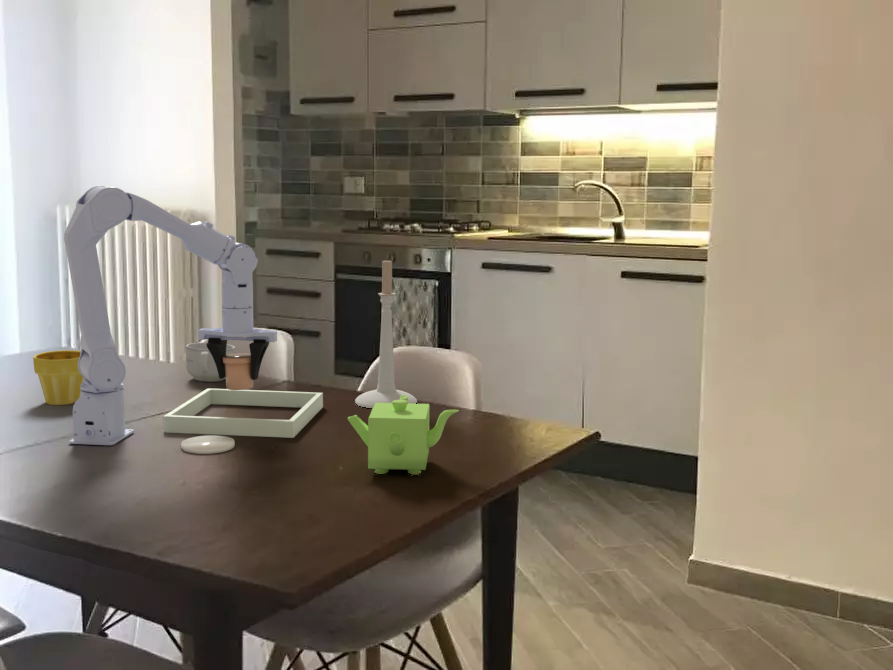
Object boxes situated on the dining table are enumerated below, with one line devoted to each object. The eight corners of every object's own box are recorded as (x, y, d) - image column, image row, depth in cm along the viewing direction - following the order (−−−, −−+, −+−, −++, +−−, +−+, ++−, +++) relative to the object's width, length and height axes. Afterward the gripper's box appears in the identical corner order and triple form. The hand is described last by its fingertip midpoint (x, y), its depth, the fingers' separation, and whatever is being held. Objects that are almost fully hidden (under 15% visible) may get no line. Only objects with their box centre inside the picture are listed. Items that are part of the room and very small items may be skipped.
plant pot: (54, 410, 197) (51, 361, 196) (25, 402, 203) (23, 354, 202) (100, 401, 205) (98, 354, 204) (71, 393, 211) (69, 348, 210)
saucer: (225, 455, 168) (225, 450, 168) (173, 452, 169) (173, 448, 169) (241, 440, 177) (241, 436, 177) (191, 438, 178) (191, 434, 178)
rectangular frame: (293, 437, 180) (293, 421, 179) (163, 432, 182) (163, 416, 181) (322, 407, 203) (322, 392, 203) (207, 402, 205) (207, 388, 205)
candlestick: (389, 393, 217) (390, 254, 212) (429, 403, 208) (431, 259, 203) (342, 402, 208) (342, 257, 203) (383, 413, 199) (384, 262, 194)
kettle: (403, 450, 173) (404, 387, 171) (462, 468, 163) (464, 401, 161) (335, 467, 162) (335, 399, 160) (394, 487, 152) (395, 416, 151)
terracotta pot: (250, 390, 186) (248, 358, 185) (219, 390, 187) (218, 358, 186) (259, 384, 192) (257, 353, 191) (229, 384, 193) (228, 353, 192)
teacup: (197, 373, 234) (196, 340, 233) (242, 375, 233) (241, 341, 232) (173, 386, 221) (172, 350, 219) (220, 388, 219) (219, 352, 218)
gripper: (281, 305, 190) (281, 375, 193) (206, 303, 192) (208, 372, 194) (271, 310, 183) (271, 382, 186) (194, 307, 185) (195, 380, 187)
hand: (238, 378), depth 189 cm, fingers closed on terracotta pot, 6 cm apart
